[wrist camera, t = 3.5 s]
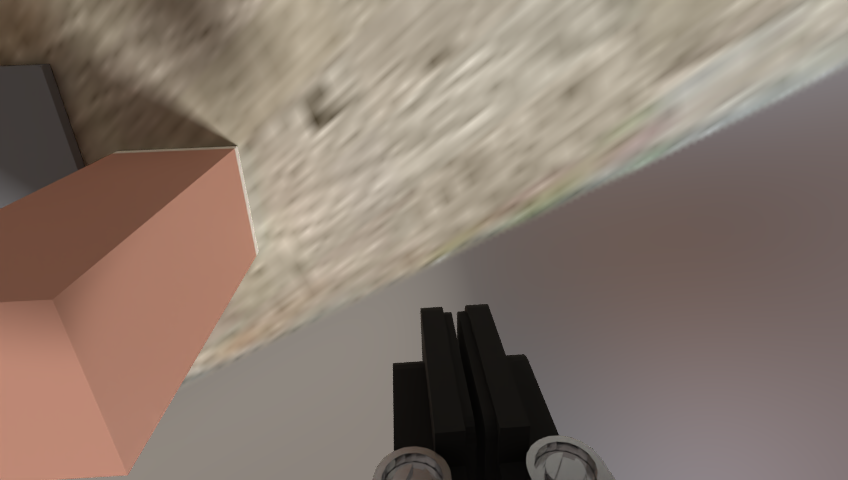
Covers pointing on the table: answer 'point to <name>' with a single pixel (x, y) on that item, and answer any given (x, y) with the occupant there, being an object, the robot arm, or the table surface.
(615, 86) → the table surface
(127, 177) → the salmon pink block
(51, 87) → the mat
